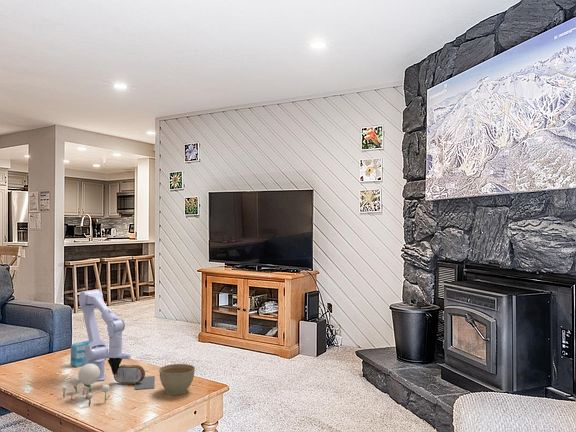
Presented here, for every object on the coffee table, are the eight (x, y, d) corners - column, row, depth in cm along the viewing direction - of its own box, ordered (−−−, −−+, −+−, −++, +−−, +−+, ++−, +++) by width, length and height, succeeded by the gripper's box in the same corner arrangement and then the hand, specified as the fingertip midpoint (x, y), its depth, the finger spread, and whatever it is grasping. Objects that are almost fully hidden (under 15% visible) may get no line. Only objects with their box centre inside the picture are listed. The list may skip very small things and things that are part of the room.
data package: (74, 367, 257) (75, 345, 258) (70, 366, 260) (70, 344, 260) (95, 363, 267) (95, 341, 267) (90, 361, 270) (91, 340, 270)
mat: (134, 389, 225) (134, 389, 225) (136, 378, 242) (136, 377, 242) (154, 388, 227) (154, 387, 227) (154, 376, 244) (154, 375, 244)
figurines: (116, 401, 210) (116, 366, 211) (92, 409, 201) (93, 373, 201) (81, 390, 224) (82, 357, 224) (57, 397, 214) (58, 363, 214)
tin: (145, 382, 233) (145, 364, 235) (142, 383, 230) (142, 365, 232) (115, 382, 235) (115, 364, 236) (112, 383, 232) (112, 365, 233)
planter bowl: (201, 392, 223) (201, 368, 223) (170, 401, 211) (171, 376, 212) (182, 383, 234) (182, 361, 234) (152, 391, 223) (152, 368, 223)
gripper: (133, 343, 234) (132, 372, 234) (105, 342, 236) (104, 370, 236) (127, 347, 227) (126, 376, 227) (97, 346, 229) (97, 374, 229)
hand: (114, 373), depth 231 cm, fingers closed
